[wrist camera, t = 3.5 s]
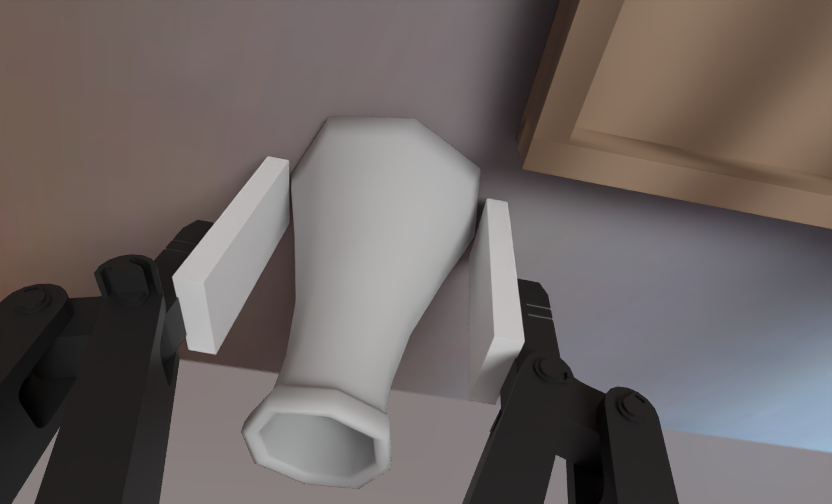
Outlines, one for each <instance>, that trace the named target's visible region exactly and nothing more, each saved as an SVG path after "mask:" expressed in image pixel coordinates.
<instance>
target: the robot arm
mask: <svg viewBox="0 0 832 504" xmlns="http://www.w3.org/2000/svg"><path fill="white" fill-rule="evenodd" d="M289 223H290V202H289V160H285V159H279V158H274V157H269V156H268V157H267V158H266V159H265V160H264V162H263V163H262V164H261V166H260V167H259V168H258V169H257V171H256V172H255V173H254V174H253V176H252V177H251V178H250V179H249V181H248V182H247V183H246V184H245V186H244V187H243V188H242V189H241V191H240V192H239V193H238V194H237V196H236V197H235V198H234V200H233V201H232V202H231V203H230V205H229V206H228V207H227V208H226V210H225V211H224V212H223V213H222V215H221V216H220V217H219V218H218V220H217V221H216V222H215V223H212V222H206V221H201V220H197V221H195V222H193V223H191V224H189V225H188V226H186V227H184V228H183V229H182V230H181V231H180V232H179V233H178V234H177V235H176V236H175V238H174V240H173V241H171V242H170V243H169V244H168V246H167V247H166V250H163V251H162V252H161V254H160V255H159V256H158V257H157V258H156V259H155V260H154V261H153V260H152V259H151V258H148V257H146V256H143V255H132V254H131V255H124V256H119V257H116V258H113V259H110V260H108V261H106V262H105V263H103V264H102V265H100V266H99V267H98V269H97V270H96V271H95V273H94V275H95V278H96V281H97V283H98V286H99V289H100V292H101V294H102V296H100V297H85V298H69V297H68V295H67V292H66V291H65V290H64V289H63V288H62V287H60V286H57V285H53V284H36V285H32V286H28V287H24V288H22V289H20V290H17V291H15V292H13V293H11V294H10V295H9V296H7V297H6V298H5V299H4V300H2V301H1V303H0V504H12V502H13V500H14V499H15V497H16V496H17V494H18V492H19V491H20V489H21V488H22V486H23V485H24V483H25V481H26V480H27V478H28V477H29V475H30V473H31V472H32V470H33V468H34V467H35V465H36V464H37V462H38V460H39V459H40V457H41V456H42V454H43V453H44V451H45V449H46V448H47V446H48V445H49V443H50V441H51V440H52V438H53V437H54V435H55V433H56V432H57V430H58V429H59V427H60V429H59V432H58V435H57V438H56V441H55V444H54V447H53V450H52V453H51V456H50V459H49V462H48V465H47V468H46V471H45V474H44V477H43V480H42V483H41V486H40V489H39V492H38V495H37V498H36V501H35V504H159V500H160V493H161V486H162V479H163V472H164V465H165V458H166V451H167V444H168V437H169V430H170V423H171V416H172V409H173V402H174V395H175V388H176V381H177V374H178V366H179V353H178V347H179V346H180V344H181V343H182V341H183V340H184V338H185V337H186V340H187V345H188V349H189V350H193V351H199V352H204V353H210V354H215V355H216V353H217V352H218V350H219V348H220V346H221V345H222V343H223V341H224V339H225V337H226V336H227V334H228V332H229V330H230V328H231V327H232V325H233V323H234V321H235V320H236V318H237V316H238V314H239V312H240V311H241V309H242V307H243V305H244V304H245V302H246V300H247V298H248V296H249V295H250V293H251V291H252V289H253V287H254V286H255V284H256V282H257V280H258V279H259V277H260V275H261V273H262V271H263V270H264V268H265V266H266V264H267V263H268V261H269V259H270V257H271V255H272V254H273V252H274V250H275V248H276V246H277V245H278V243H279V241H280V239H281V238H282V236H283V234H284V232H285V230H286V229H287V227H288V225H289ZM499 395H500V397H501V409H500V411H499V413H498V415H497V417H496V419H495V421H494V423H493V426H492V428H491V430H490V432H491V433H490V435H489V438H488V440H487V443H486V445H485V448H484V451H483V453H482V455H481V458H480V461H479V463H478V465H477V468H476V471H475V473H474V475H473V478H472V480H471V483H470V486H469V488H468V490H467V493H466V495H465V498H464V500H463V503H462V504H544V500H545V496H546V492H547V488H548V484H549V480H550V476H551V472H552V468H553V464H554V460H555V456H556V455H558V456H560V457H562V458H564V459H566V468H567V489H568V504H679V502H678V498H677V494H676V489H675V485H674V481H673V477H672V472H671V468H670V464H669V460H668V455H667V451H666V447H665V443H664V438H663V434H662V430H661V425H660V421H659V417H658V415H657V412H656V410H655V408H654V407H653V406H652V404H651V403H650V402H649V401H648V400H647V399H646V398H645V397H644V396H642V395H641V394H640V393H638V392H636V391H634V390H632V389H629V388H625V387H615V388H611V389H610V390H609V391H608V392H607V393H606V394H605V393H603V392H601V391H598V390H596V389H594V388H592V387H590V386H588V385H586V384H584V383H582V382H580V381H578V380H577V379H576V378H575V377H574V376H573V373H572V371H571V369H570V367H569V366H568V365H567V364H566V363H565V362H564V361H563V360H562V359H561V358H560V354H559V348H558V343H557V338H556V333H555V328H554V323H553V320H552V313H551V310H550V303H549V298H548V294H547V293H546V291H545V290H544V289H543V287H542V286H541V284H540V283H538V282H533V281H528V280H522V279H517V275H516V267H515V259H514V250H513V242H512V234H511V226H510V218H509V210H508V202H504V201H499V200H494V199H489V198H487V199H486V203H485V206H484V209H483V213H482V216H481V219H480V222H479V226H478V229H477V232H476V236H475V239H474V242H473V246H472V249H471V252H470V256H469V400H471V401H477V402H482V403H488V404H493V405H495V404H496V402H497V400H498V397H499Z"/></svg>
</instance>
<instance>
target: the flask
mask: <svg viewBox="0 0 832 504" xmlns="http://www.w3.org/2000/svg"><path fill="white" fill-rule="evenodd" d="M480 171H481V168H479V167H478V166H477V165H475V164H474V163H473V162H471V161H470V160H469V159H467V158H466V157H465V156H463V155H462V154H461V153H459V152H458V151H457V150H456V149H454V148H453V147H452V146H450V145H449V144H448V143H446V142H445V141H444V140H442V139H441V138H440V137H438V136H437V135H436V134H434V133H433V132H432V131H431V130H429V129H428V128H427V127H425V126H424V125H423V124H421V123H420V122H419V121H417V120H416V119H411V118H379V117H347V116H329V117H328V119H327V121H326V122H325V124H324V125H323V127H322V128H321V130H320V131H319V133H318V134H317V136H316V138H315V139H314V141H313V142H312V144H311V145H310V147H309V148H308V150H307V151H306V153H305V155H304V156H303V158H302V159H301V161H300V162H299V164H298V165H297V167H296V168H295V170H294V172H293V173H292V175H291V193H292V207H293V221H294V234H295V286H296V303H295V308H294V314H293V320H292V325H291V331H290V336H289V342H288V347H287V353H286V358H285V360H284V363H283V365H282V368H281V371H280V373H279V376H278V378H277V381H276V384H275V386H274V389H273V391H272V392H271V393H270V394H269V395H268V396H267V397H266V398H265V399H264V400H263V401H262V402H261V403H260V404H259V405H258V406H257V407H256V408H255V409H254V410H253V411H252V412H251V414H250V415H249V416H248V418H247V419H246V421H245V422H244V425H243V428H242V431H241V433H242V435H243V437H244V440H245V442H246V444H247V447H248V449H249V451H250V454H251V456H252V458H253V461H254V463H255V464H258V465H260V466H262V467H265V468H268V469H270V470H272V471H274V472H277V473H279V474H282V475H284V476H286V477H289V478H291V479H294V480H296V481H299V482H301V483H303V484H310V485H320V486H331V487H341V488H352V489H360V488H361V487H363V486H364V485H366V484H368V483H369V482H371V481H372V480H374V479H375V478H377V477H379V476H381V475H382V474H384V473H385V472H387V471H389V470H390V466H391V461H392V457H391V443H390V431H389V430H390V429H389V417H388V415H387V413H386V409H387V404H388V398H389V393H390V388H391V384H392V382H393V379H394V376H395V374H396V371H397V368H398V366H399V363H400V361H401V358H402V355H403V353H404V350H405V347H406V345H407V342H408V339H409V337H410V335H411V333H412V331H413V330H414V328H415V327H416V325H417V323H418V322H419V320H420V318H421V317H422V315H423V314H424V312H425V310H426V309H427V307H428V306H429V304H430V302H431V301H432V299H433V298H434V296H435V294H436V293H437V291H438V289H439V288H440V286H441V285H442V283H443V282H444V280H445V279H446V277H447V276H448V274H449V273H450V272H451V270H452V269H453V267H454V266H455V264H456V263H457V262H458V260H459V259H460V257H461V256H462V254H463V253H464V252H465V250H466V249H467V247H468V246H469V244H470V242H471V241H472V239H473V238H474V236H475V226H476V215H477V204H478V193H479V182H480Z"/></svg>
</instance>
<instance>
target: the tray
mask: <svg viewBox="0 0 832 504" xmlns="http://www.w3.org/2000/svg"><path fill="white" fill-rule="evenodd" d="M516 140H517V145H518V150H519V155H520V161H521V166H522V169H524V170H529V171H534V172H539V173H545V174H550V175H555V176H560V177H565V178H570V179H576V180H581V181H586V182H591V183H596V184H601V185H607V186H612V187H617V188H622V189H627V190H633V191H638V192H643V193H648V194H653V195H658V196H664V197H669V198H674V199H679V200H684V201H689V202H695V203H700V204H705V205H710V206H715V207H720V208H726V209H731V210H736V211H741V212H746V213H752V214H757V215H762V216H767V217H772V218H777V219H783V220H788V221H793V222H798V223H803V224H808V225H814V226H819V227H824V228H829V229H832V0H560V1H559V4H558V7H557V10H556V13H555V16H554V20H553V23H552V26H551V29H550V32H549V35H548V38H547V42H546V45H545V48H544V51H543V54H542V57H541V60H540V64H539V67H538V70H537V73H536V76H535V79H534V82H533V86H532V89H531V92H530V95H529V98H528V101H527V104H526V108H525V111H524V114H523V117H522V120H521V123H520V126H519V130H518V133H517V136H516Z"/></svg>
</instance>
